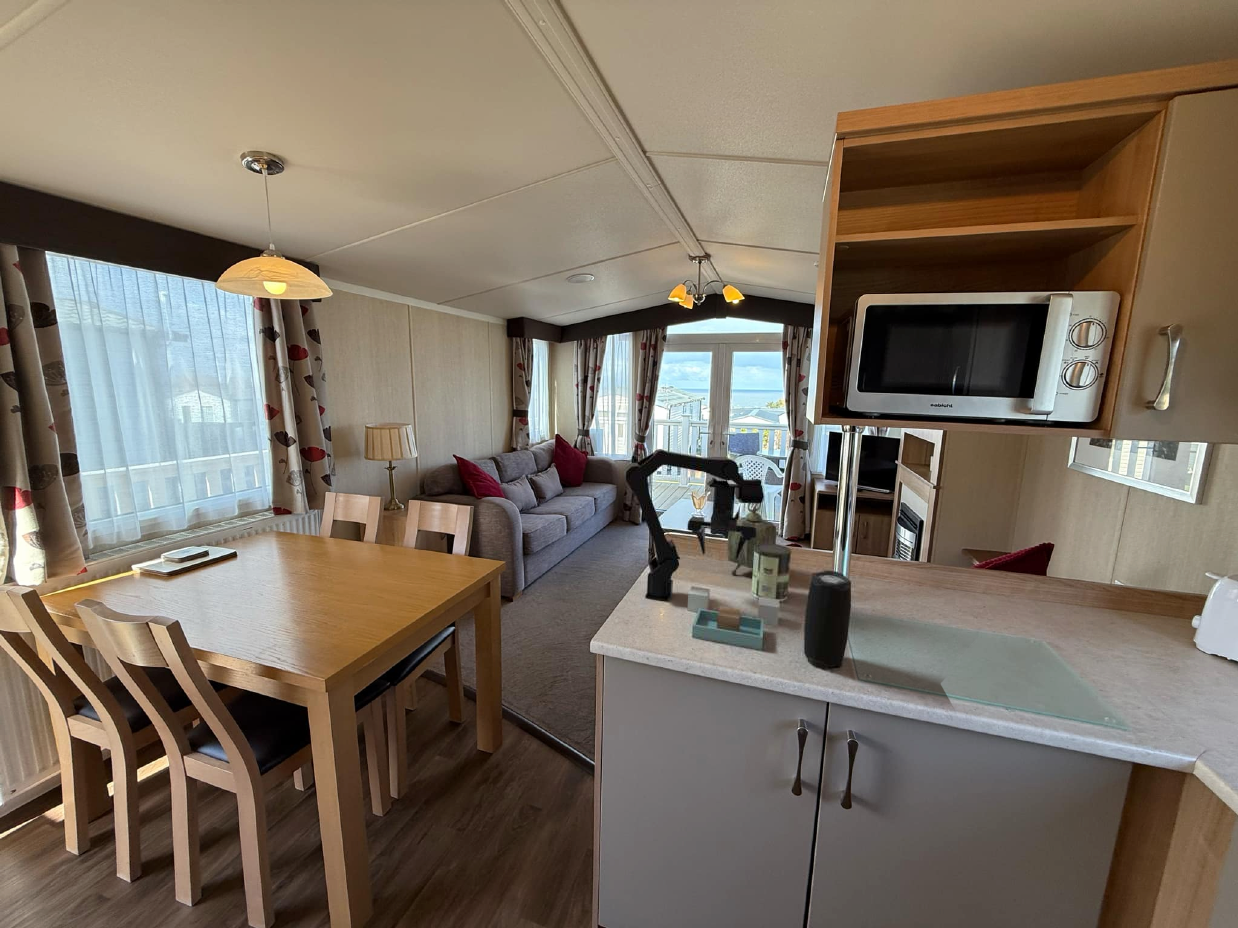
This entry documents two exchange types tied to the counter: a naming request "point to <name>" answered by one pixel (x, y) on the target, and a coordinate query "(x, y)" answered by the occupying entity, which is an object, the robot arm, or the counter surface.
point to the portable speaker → (827, 619)
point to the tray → (746, 636)
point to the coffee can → (771, 571)
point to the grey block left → (698, 599)
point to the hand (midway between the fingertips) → (720, 556)
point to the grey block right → (768, 610)
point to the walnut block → (728, 619)
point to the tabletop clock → (763, 535)
